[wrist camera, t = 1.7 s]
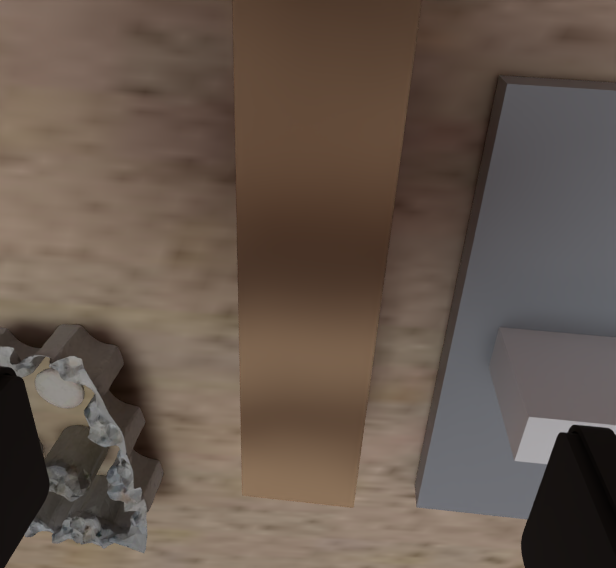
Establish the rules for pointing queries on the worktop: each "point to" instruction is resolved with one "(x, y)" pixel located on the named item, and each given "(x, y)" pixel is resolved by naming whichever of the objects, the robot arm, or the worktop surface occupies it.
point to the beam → (314, 229)
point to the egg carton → (88, 443)
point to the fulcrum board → (528, 300)
